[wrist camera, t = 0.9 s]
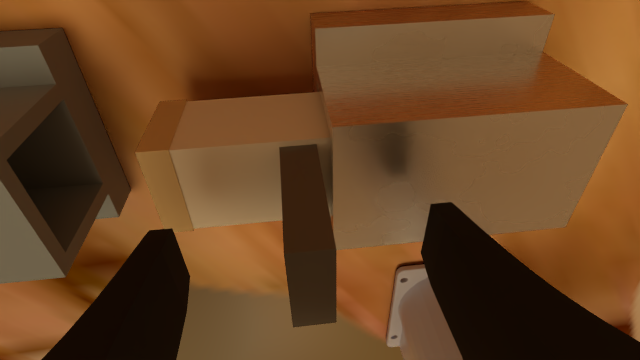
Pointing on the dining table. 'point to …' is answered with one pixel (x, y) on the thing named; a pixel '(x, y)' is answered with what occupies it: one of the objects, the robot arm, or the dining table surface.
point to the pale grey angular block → (251, 180)
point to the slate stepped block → (50, 157)
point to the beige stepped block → (453, 120)
